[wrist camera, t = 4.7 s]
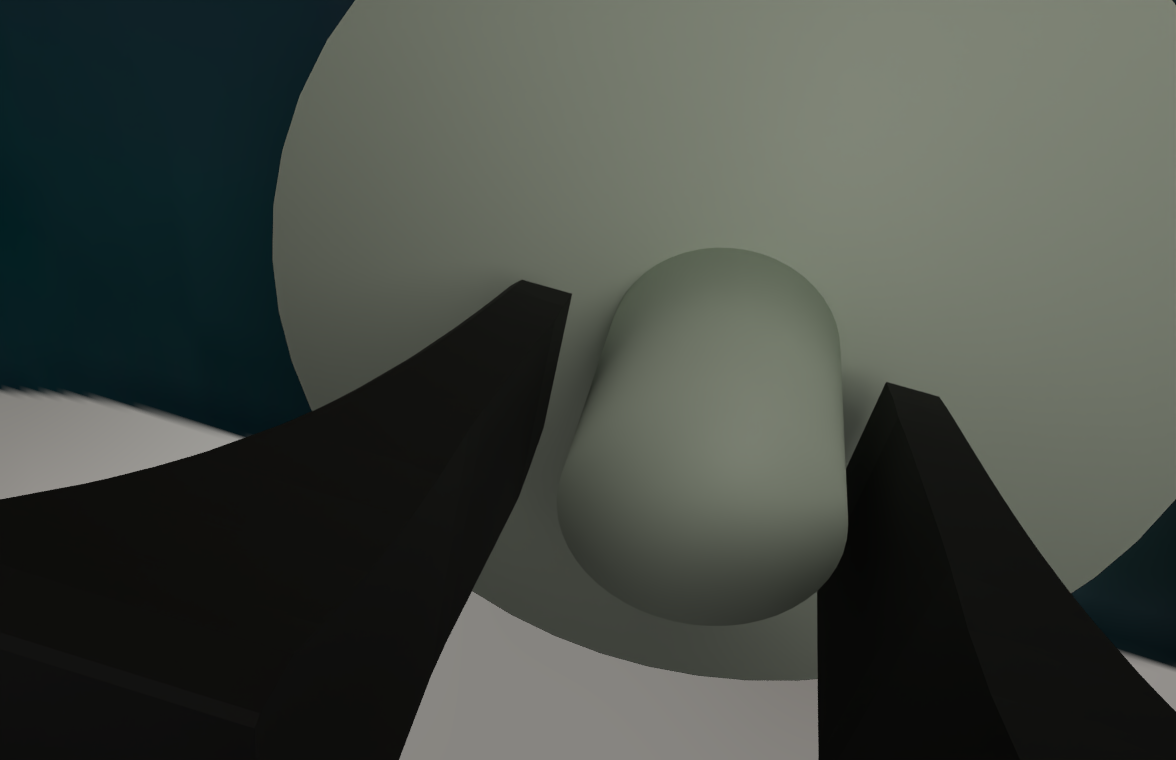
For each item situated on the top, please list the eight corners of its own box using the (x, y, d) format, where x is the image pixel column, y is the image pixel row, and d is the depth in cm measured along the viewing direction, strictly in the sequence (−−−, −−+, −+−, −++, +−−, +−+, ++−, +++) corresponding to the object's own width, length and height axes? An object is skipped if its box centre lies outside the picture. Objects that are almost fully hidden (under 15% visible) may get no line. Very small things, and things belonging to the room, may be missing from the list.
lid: (1490, -85, 9) (1827, 12, 6) (1022, 727, 16) (1073, 971, 13) (266, -279, 10) (31, -280, 7) (302, 561, 17) (188, 751, 14)
